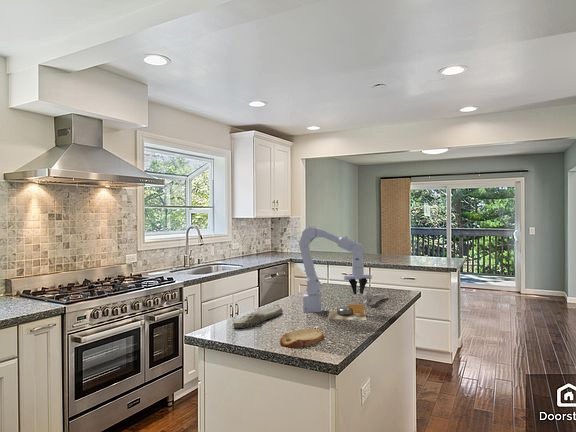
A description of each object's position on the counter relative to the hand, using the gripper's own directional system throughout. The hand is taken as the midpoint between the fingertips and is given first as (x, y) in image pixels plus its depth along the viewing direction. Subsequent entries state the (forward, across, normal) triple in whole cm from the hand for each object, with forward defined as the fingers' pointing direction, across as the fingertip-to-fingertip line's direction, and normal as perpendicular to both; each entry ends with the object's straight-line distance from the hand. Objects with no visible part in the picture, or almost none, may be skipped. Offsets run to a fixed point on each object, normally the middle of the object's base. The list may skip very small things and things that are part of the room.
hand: (358, 293), depth 196 cm
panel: (+10, +8, +4) cm, 13 cm away
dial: (+9, +6, +4) cm, 11 cm away
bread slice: (+10, +40, +31) cm, 52 cm away
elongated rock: (+10, +50, -4) cm, 51 cm away
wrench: (+10, -20, -19) cm, 29 cm away
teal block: (+9, +8, +13) cm, 17 cm away
